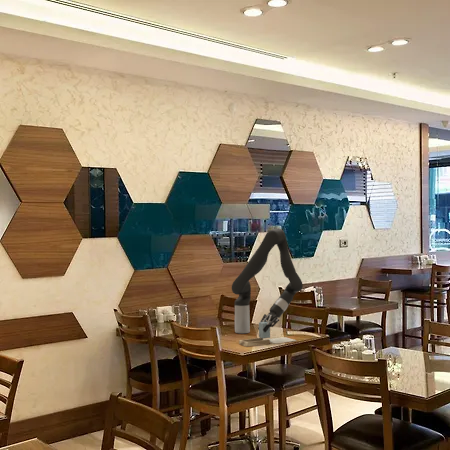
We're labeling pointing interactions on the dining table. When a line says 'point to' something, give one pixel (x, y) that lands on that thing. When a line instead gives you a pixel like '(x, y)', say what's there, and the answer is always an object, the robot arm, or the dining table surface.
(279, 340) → the mat
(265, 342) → the shelf lane
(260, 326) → the slate block
